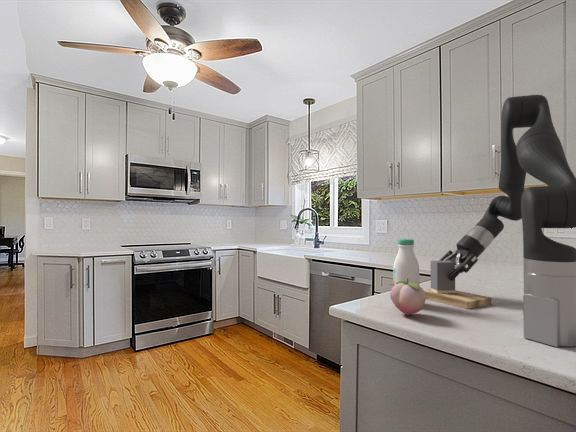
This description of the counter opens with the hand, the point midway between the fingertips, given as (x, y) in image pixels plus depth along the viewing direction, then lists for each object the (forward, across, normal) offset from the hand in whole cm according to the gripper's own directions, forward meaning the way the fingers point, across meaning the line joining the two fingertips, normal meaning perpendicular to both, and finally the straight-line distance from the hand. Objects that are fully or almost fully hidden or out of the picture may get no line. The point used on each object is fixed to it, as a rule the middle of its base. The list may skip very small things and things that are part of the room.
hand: (442, 276), depth 108 cm
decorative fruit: (+19, +19, -9) cm, 28 cm away
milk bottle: (+16, +7, -6) cm, 18 cm away
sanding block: (+3, 0, +4) cm, 5 cm away
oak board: (+4, +4, +6) cm, 8 cm away
